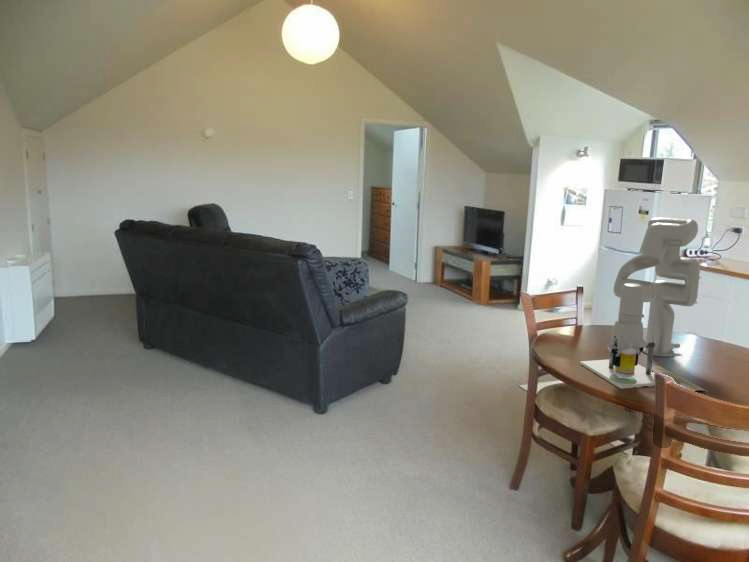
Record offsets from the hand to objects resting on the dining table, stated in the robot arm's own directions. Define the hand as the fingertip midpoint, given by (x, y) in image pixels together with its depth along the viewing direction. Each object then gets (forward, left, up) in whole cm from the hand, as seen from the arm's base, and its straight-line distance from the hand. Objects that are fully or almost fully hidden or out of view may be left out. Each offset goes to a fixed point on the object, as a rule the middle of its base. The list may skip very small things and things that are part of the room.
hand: (624, 364), depth 192 cm
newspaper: (-21, +2, -8) cm, 22 cm away
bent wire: (-8, -10, -6) cm, 14 cm away
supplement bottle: (0, 0, -4) cm, 4 cm away
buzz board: (-6, -7, -7) cm, 12 cm away
